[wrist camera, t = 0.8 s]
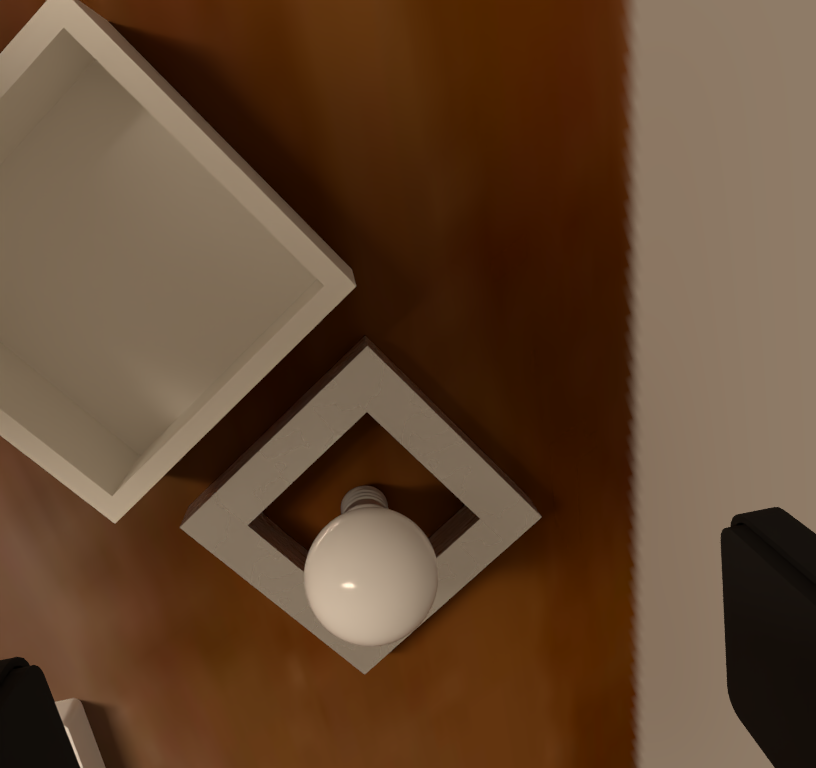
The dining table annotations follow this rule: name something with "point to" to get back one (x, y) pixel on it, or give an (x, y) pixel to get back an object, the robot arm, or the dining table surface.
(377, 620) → the lightbulb
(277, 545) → the socket collar
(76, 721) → the holder
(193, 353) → the bin
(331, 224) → the dining table surface
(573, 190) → the dining table surface
